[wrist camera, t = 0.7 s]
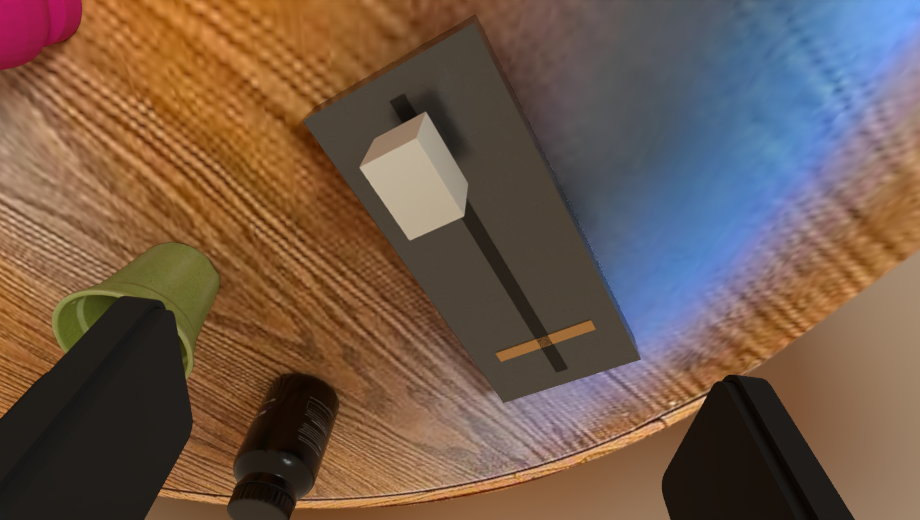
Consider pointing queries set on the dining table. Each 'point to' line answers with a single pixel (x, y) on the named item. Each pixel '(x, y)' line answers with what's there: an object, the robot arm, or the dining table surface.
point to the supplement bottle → (283, 448)
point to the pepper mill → (34, 27)
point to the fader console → (486, 218)
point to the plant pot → (147, 295)
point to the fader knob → (416, 177)
